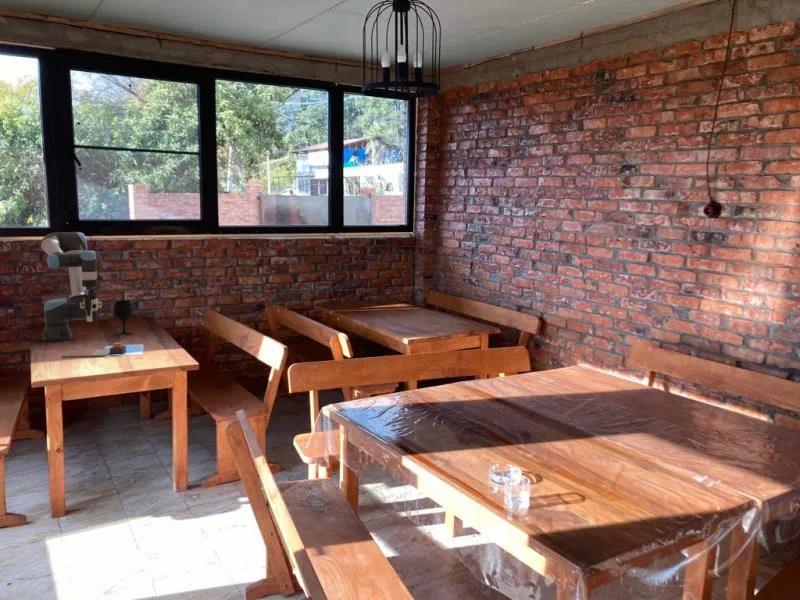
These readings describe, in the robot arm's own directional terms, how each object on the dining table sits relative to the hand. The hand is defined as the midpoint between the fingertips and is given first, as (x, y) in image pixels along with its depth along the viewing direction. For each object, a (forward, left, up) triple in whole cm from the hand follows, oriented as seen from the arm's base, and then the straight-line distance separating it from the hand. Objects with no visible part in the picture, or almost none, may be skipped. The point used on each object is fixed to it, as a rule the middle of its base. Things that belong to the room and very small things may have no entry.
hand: (91, 320), depth 354 cm
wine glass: (-34, +8, -15) cm, 38 cm away
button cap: (+18, +18, -13) cm, 28 cm away
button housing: (+18, +18, -15) cm, 29 cm away
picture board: (+18, +3, -15) cm, 23 cm away
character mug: (0, 0, -1) cm, 1 cm away
